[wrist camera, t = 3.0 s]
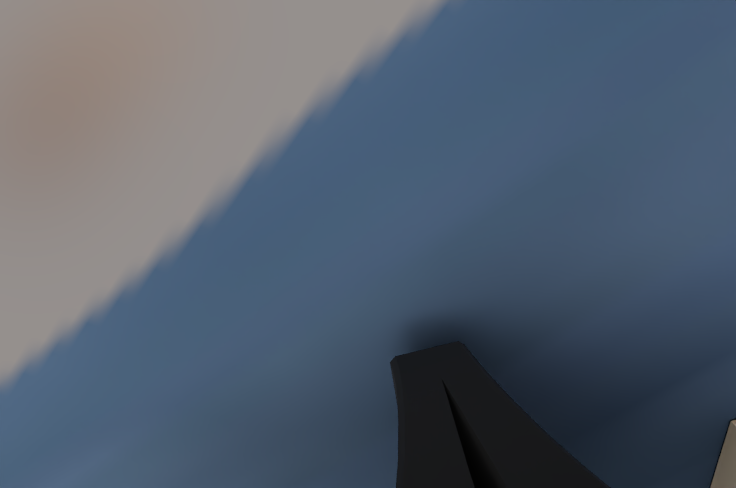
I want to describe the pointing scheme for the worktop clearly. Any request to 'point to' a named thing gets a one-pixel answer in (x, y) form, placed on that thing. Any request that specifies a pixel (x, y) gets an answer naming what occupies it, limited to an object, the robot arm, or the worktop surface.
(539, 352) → the worktop surface
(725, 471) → the bay
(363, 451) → the worktop surface
